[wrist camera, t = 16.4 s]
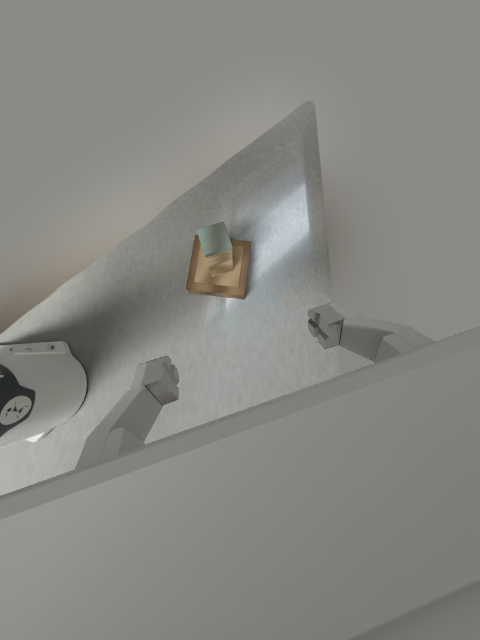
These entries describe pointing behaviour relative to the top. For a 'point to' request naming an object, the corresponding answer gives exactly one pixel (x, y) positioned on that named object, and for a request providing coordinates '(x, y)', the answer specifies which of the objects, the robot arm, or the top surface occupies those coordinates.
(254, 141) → the top surface
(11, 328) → the top surface
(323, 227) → the top surface
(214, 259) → the tan tall block
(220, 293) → the base slab
